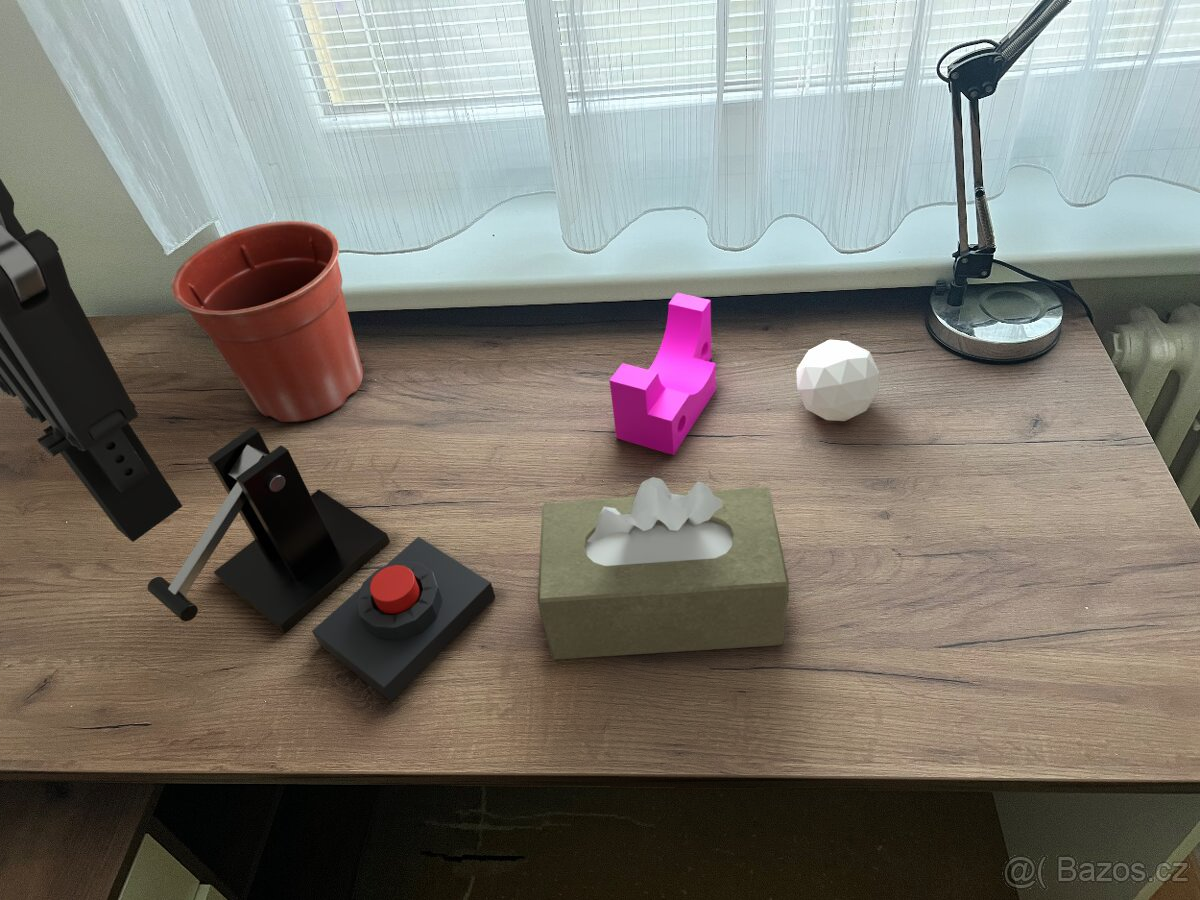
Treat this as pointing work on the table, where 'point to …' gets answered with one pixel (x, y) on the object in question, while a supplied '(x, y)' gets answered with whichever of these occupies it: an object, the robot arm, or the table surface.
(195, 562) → the lever
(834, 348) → the ball
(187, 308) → the flower pot
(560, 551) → the tissue box
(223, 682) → the table surface
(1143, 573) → the table surface
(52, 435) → the robot arm
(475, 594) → the button block
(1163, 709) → the table surface
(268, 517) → the bracket
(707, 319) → the toy block
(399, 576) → the button
